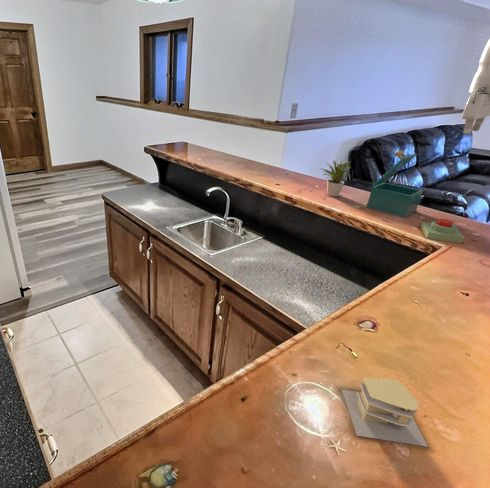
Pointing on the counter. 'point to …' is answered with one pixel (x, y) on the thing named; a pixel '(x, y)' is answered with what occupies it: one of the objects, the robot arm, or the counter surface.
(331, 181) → the house plant
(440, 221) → the button
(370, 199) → the chest
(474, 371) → the counter surface
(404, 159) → the lid
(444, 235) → the console
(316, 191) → the counter surface
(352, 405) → the stacked layers on plate
